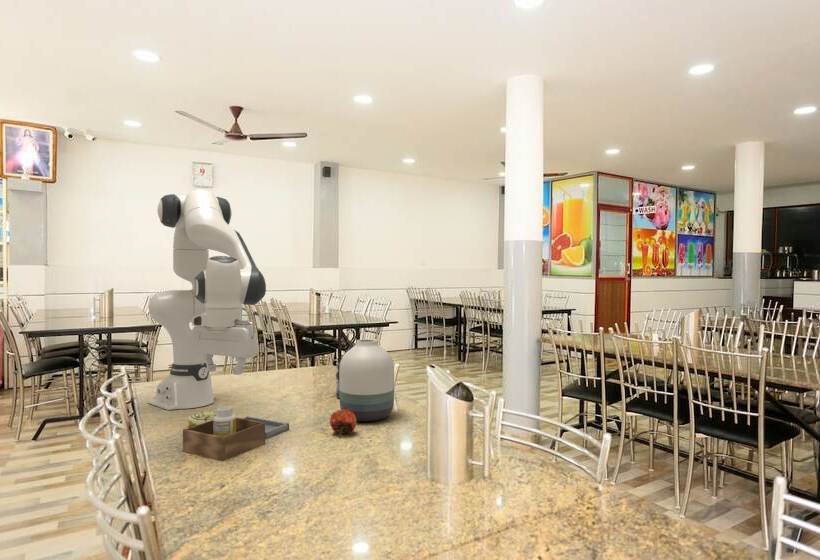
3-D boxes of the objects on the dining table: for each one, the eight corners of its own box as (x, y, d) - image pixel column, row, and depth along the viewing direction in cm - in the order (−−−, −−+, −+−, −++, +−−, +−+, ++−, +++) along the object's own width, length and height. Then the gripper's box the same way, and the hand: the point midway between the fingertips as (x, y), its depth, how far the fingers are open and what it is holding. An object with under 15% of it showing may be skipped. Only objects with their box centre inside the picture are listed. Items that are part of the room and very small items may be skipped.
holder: (182, 451, 131) (182, 429, 131) (226, 435, 143) (226, 415, 143) (223, 461, 124) (223, 438, 124) (265, 443, 137) (265, 422, 137)
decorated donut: (202, 434, 145) (202, 421, 145) (180, 427, 151) (180, 414, 151) (234, 425, 154) (233, 412, 153) (212, 419, 160) (212, 406, 160)
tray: (221, 431, 147) (221, 425, 147) (247, 422, 156) (247, 416, 156) (264, 440, 139) (264, 433, 139) (289, 429, 148) (289, 423, 148)
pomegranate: (355, 445, 142) (363, 415, 149) (346, 429, 137) (355, 399, 145) (330, 446, 144) (340, 416, 151) (321, 430, 140) (331, 400, 147)
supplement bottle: (229, 442, 138) (228, 404, 138) (240, 446, 134) (240, 407, 134) (209, 447, 133) (208, 408, 133) (220, 452, 130) (220, 412, 130)
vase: (401, 412, 166) (401, 338, 166) (381, 428, 150) (381, 345, 150) (353, 408, 172) (353, 335, 171) (329, 422, 156) (329, 342, 155)
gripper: (263, 319, 131) (263, 374, 131) (206, 316, 141) (206, 367, 141) (244, 321, 125) (245, 378, 126) (186, 318, 135) (187, 371, 135)
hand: (224, 372), depth 133 cm, fingers open, 8 cm apart
